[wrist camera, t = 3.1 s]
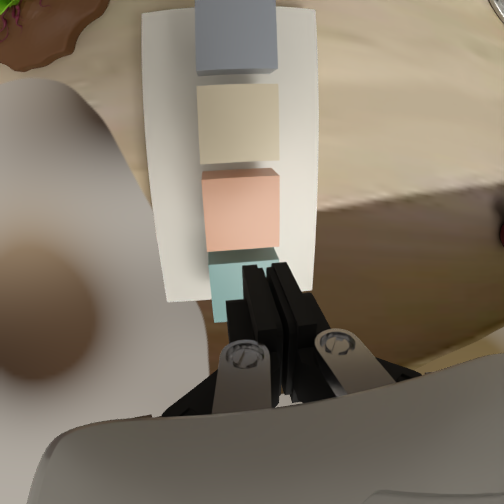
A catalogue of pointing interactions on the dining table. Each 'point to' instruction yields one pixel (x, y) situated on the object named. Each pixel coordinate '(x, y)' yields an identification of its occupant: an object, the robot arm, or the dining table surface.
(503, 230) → the mug
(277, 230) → the key
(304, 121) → the keypad base
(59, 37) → the plant
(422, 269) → the dining table surface
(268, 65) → the key
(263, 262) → the key
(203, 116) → the key
